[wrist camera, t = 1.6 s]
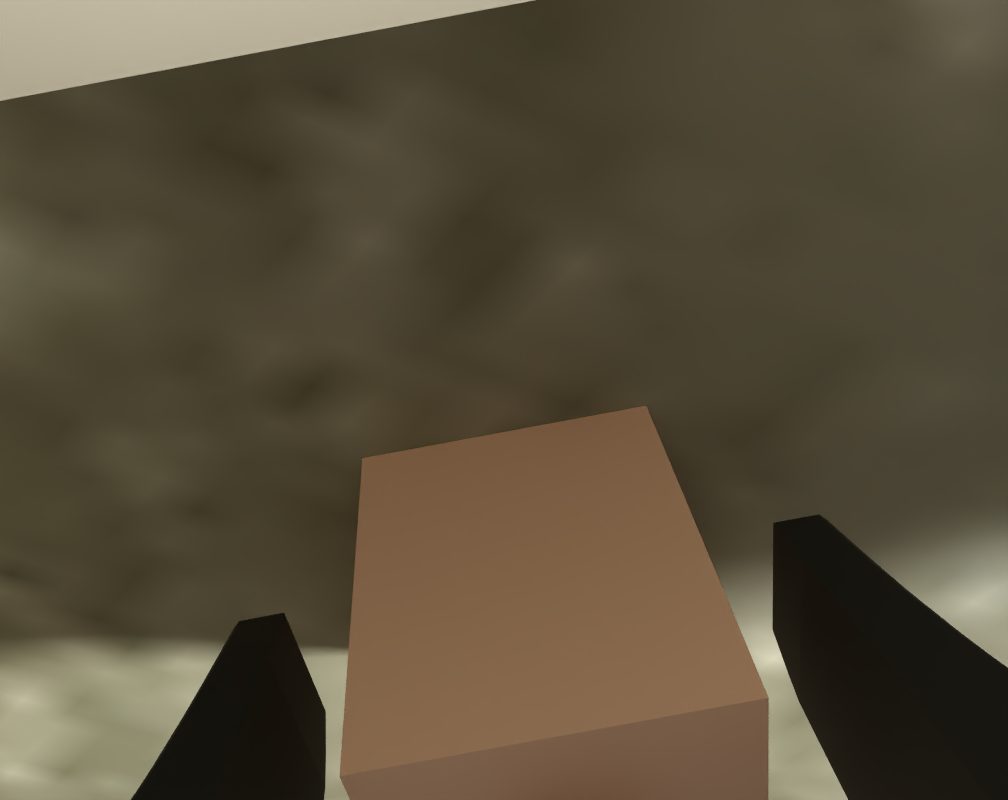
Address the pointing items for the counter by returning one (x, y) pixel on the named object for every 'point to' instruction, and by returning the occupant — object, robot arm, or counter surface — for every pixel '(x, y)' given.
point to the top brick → (544, 627)
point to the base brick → (178, 33)
